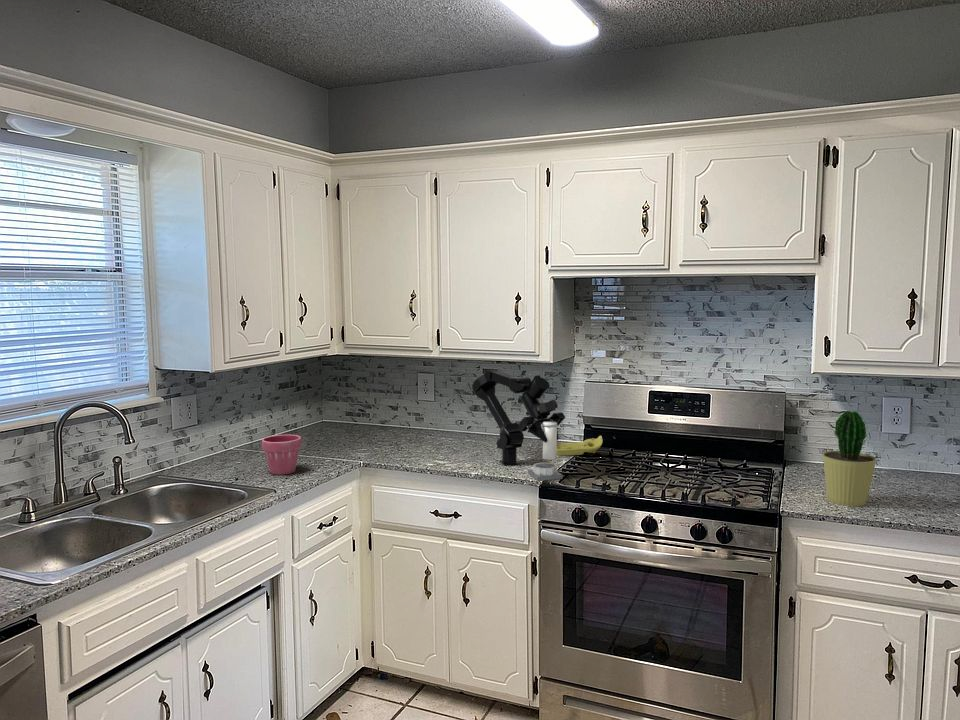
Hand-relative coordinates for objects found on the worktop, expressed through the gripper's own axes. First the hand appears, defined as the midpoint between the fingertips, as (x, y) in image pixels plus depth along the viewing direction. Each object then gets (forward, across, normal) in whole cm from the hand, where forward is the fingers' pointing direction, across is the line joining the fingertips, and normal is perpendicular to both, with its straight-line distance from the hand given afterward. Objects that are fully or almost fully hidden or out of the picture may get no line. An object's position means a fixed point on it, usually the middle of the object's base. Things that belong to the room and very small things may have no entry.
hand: (552, 440), depth 260 cm
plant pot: (-35, -76, +56) cm, 101 cm away
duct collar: (+8, -1, +11) cm, 14 cm away
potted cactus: (+63, +59, -46) cm, 98 cm away
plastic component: (-5, +33, +25) cm, 42 cm away
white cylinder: (+4, 0, +6) cm, 7 cm away
